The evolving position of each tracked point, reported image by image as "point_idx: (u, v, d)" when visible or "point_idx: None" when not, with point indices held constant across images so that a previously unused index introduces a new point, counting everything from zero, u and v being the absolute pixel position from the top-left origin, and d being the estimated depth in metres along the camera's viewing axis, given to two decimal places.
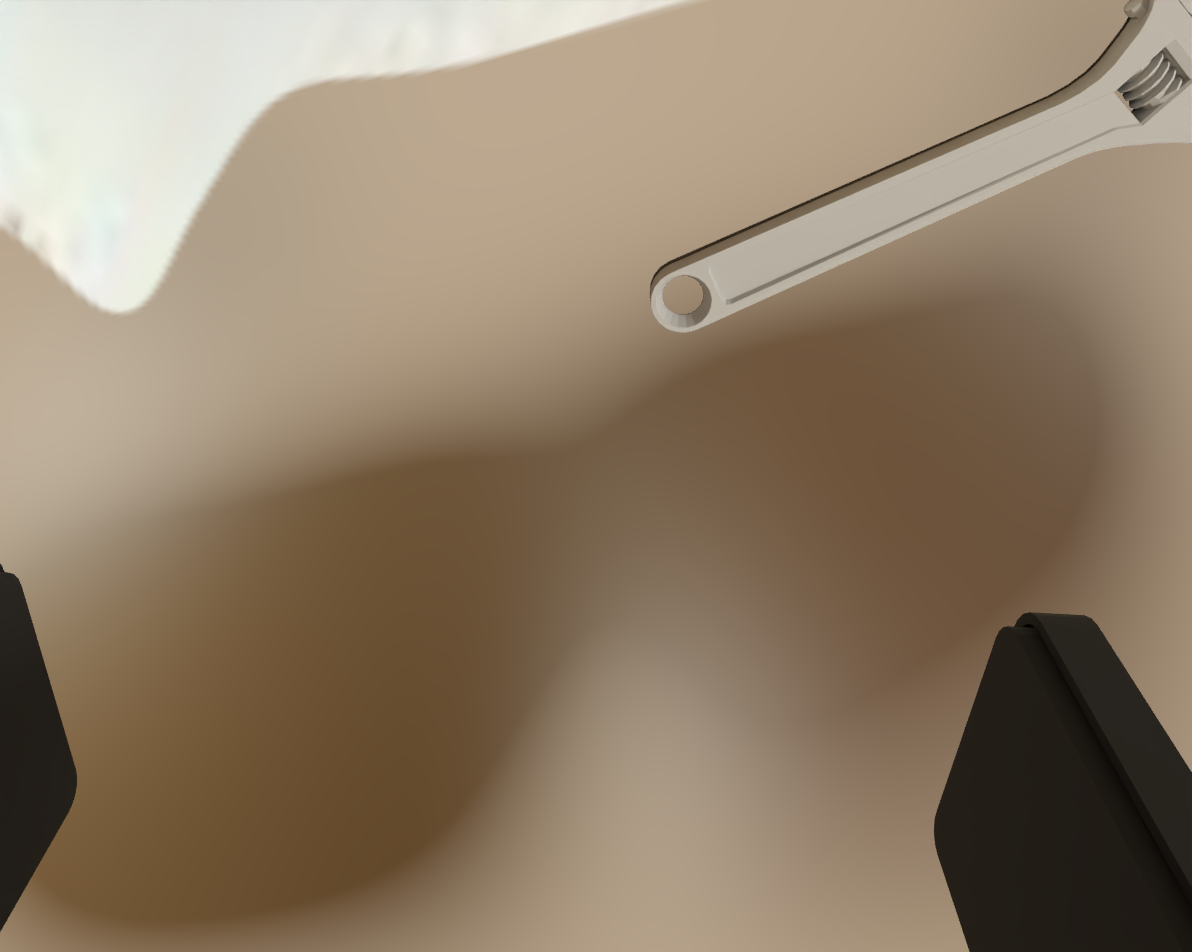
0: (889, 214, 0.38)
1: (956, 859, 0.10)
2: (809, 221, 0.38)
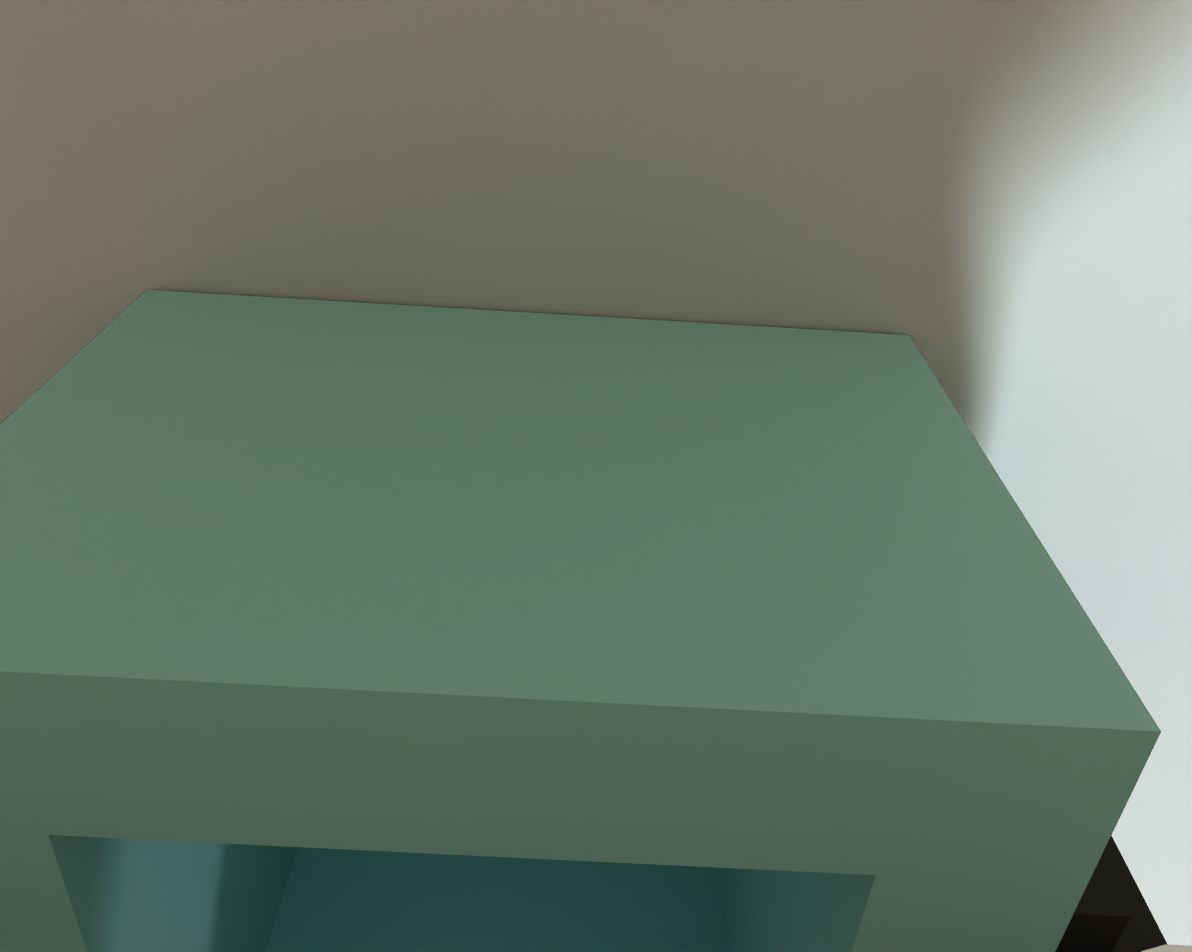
0: None
1: None
2: None
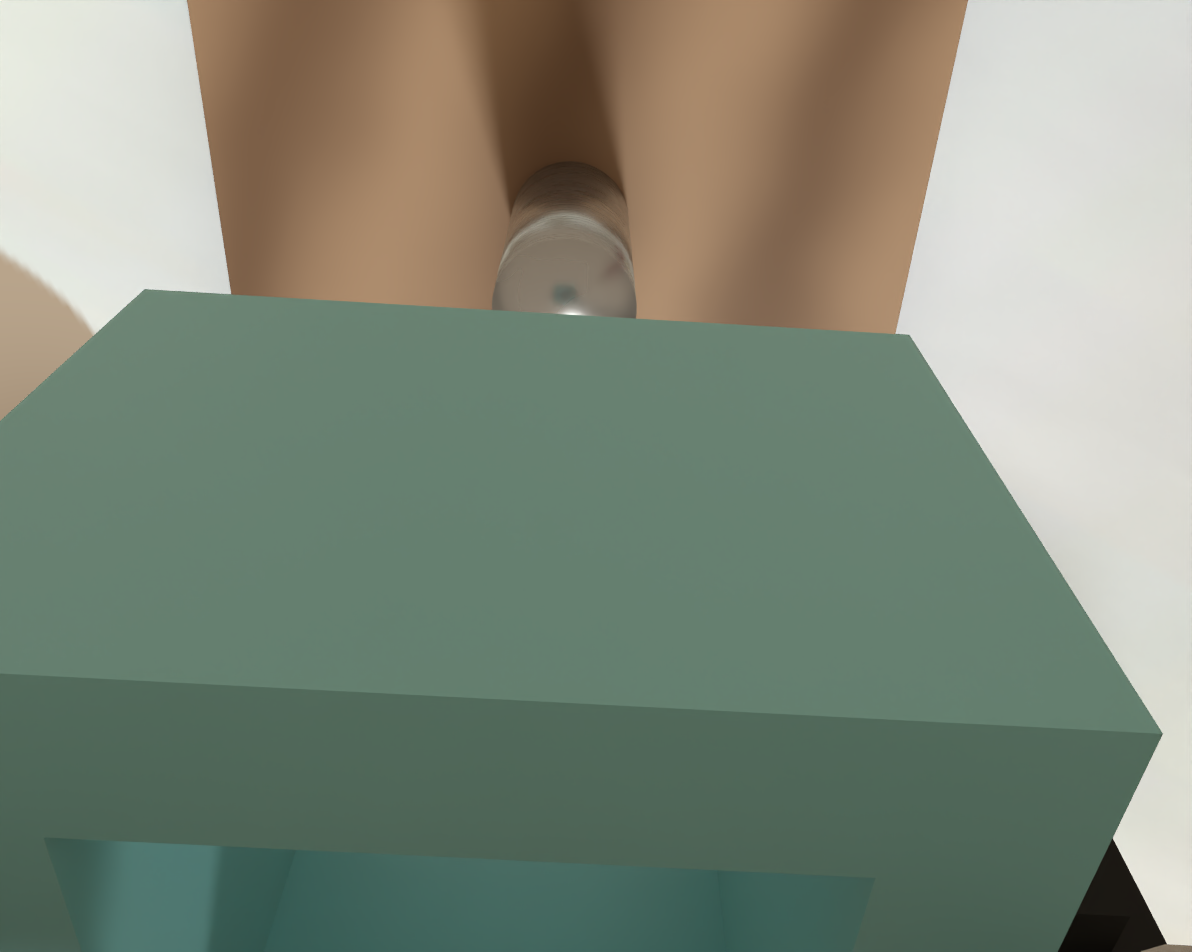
0: None
1: None
2: None
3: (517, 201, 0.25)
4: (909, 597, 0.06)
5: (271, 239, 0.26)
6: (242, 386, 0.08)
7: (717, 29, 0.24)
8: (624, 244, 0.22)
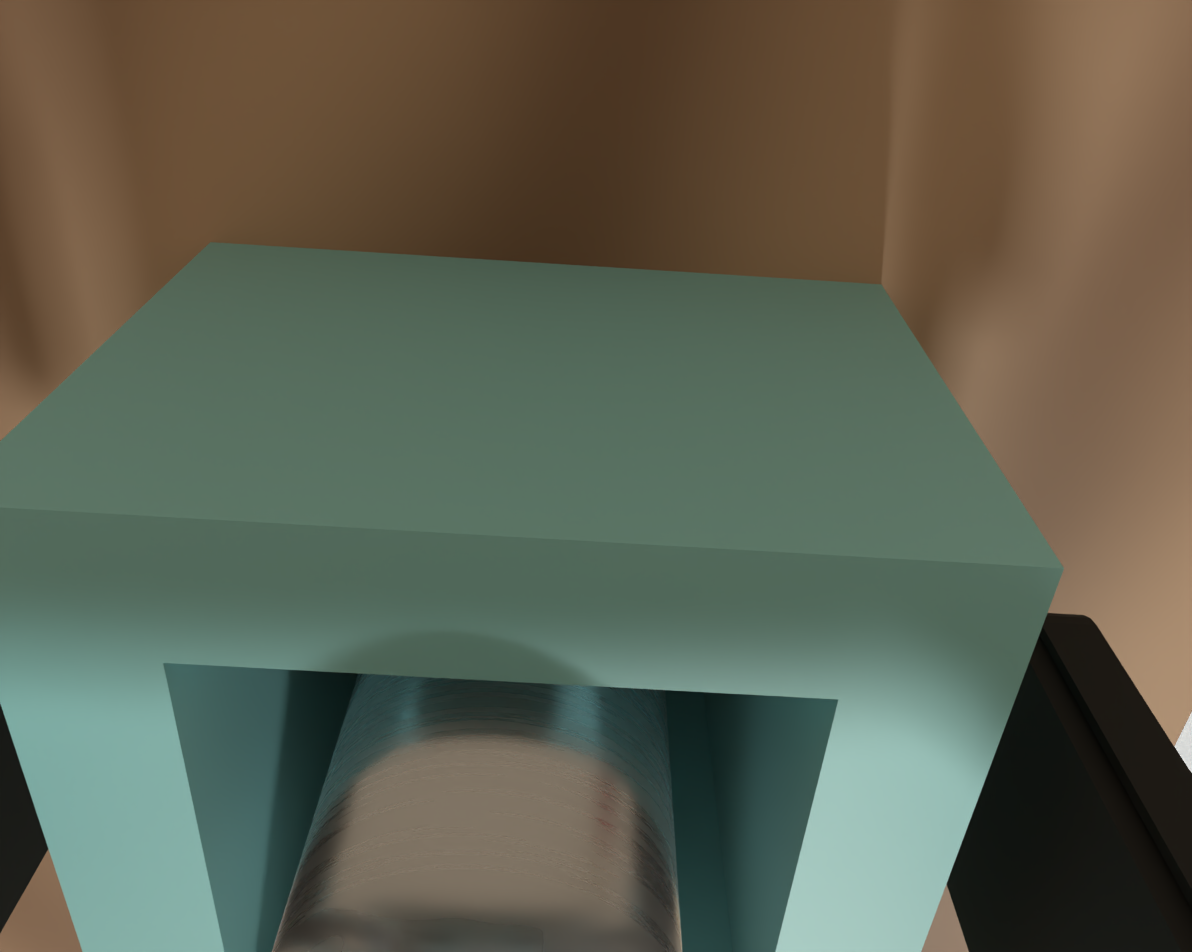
0: None
1: None
2: None
3: None
4: (868, 475, 0.07)
5: None
6: (305, 318, 0.09)
7: (877, 162, 0.10)
8: (650, 748, 0.08)
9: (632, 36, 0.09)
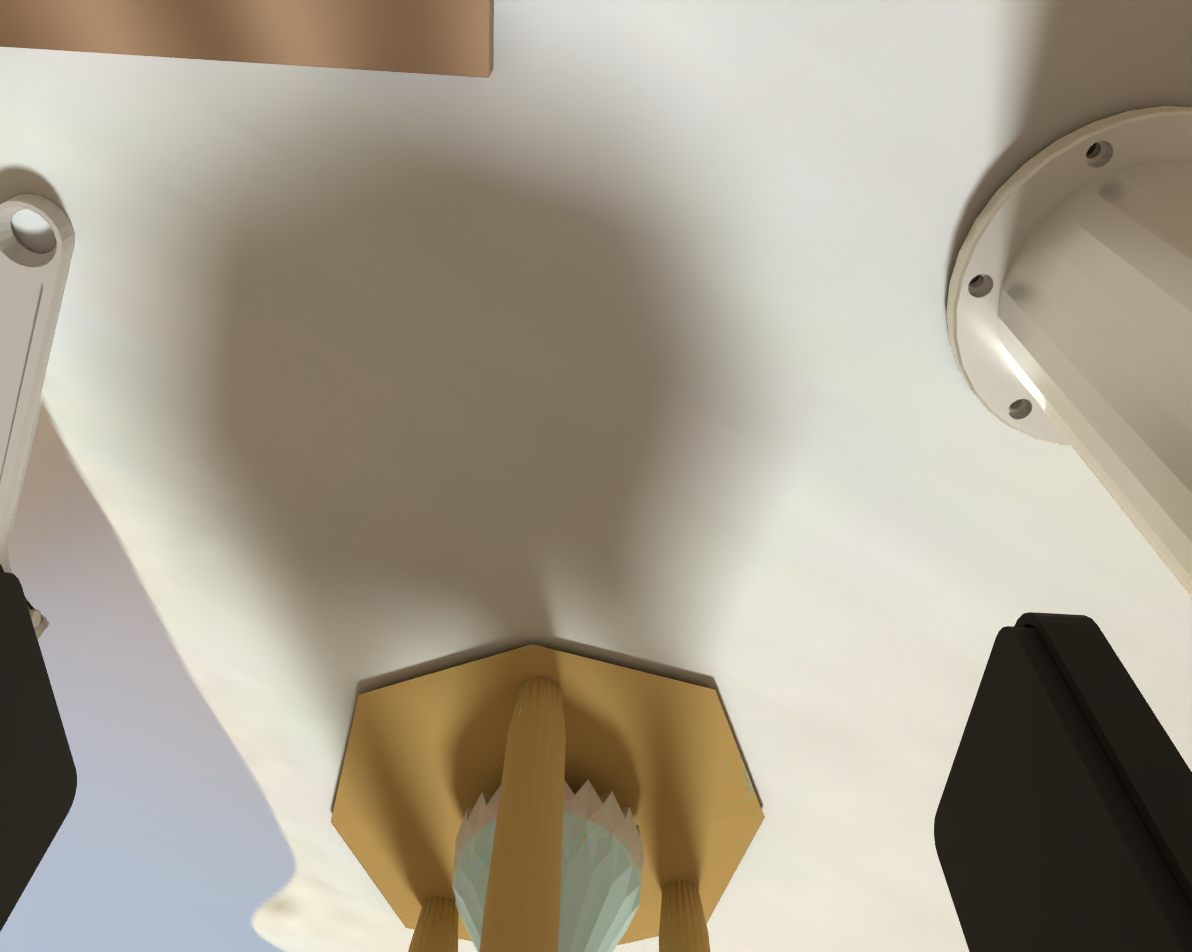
0: None
1: (956, 859, 0.10)
2: (25, 375, 0.39)
3: None
4: None
5: None
6: None
7: None
8: None
9: None
